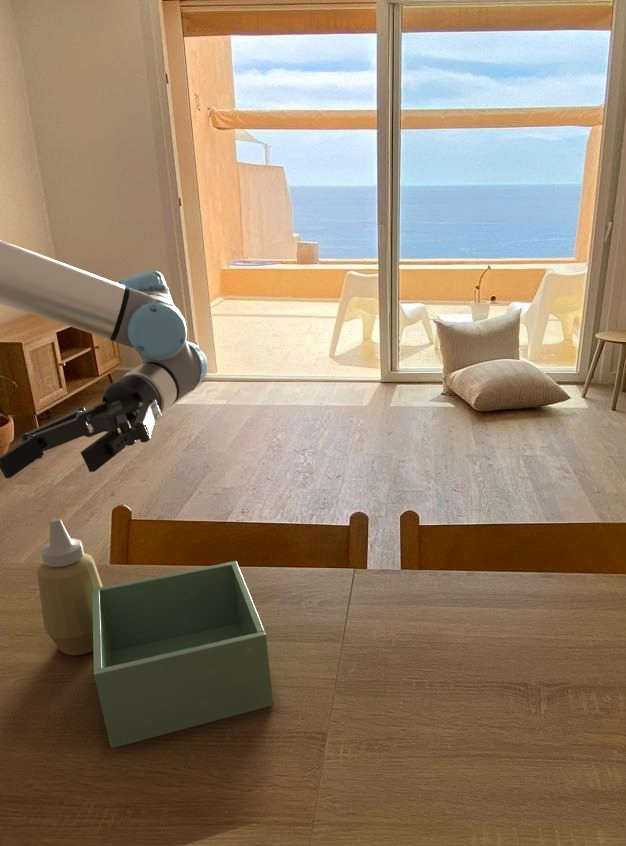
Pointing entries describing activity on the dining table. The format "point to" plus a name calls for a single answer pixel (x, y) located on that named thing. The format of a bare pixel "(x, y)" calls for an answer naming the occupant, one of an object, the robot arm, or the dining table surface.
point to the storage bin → (178, 652)
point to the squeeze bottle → (67, 591)
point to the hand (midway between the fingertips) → (43, 465)
